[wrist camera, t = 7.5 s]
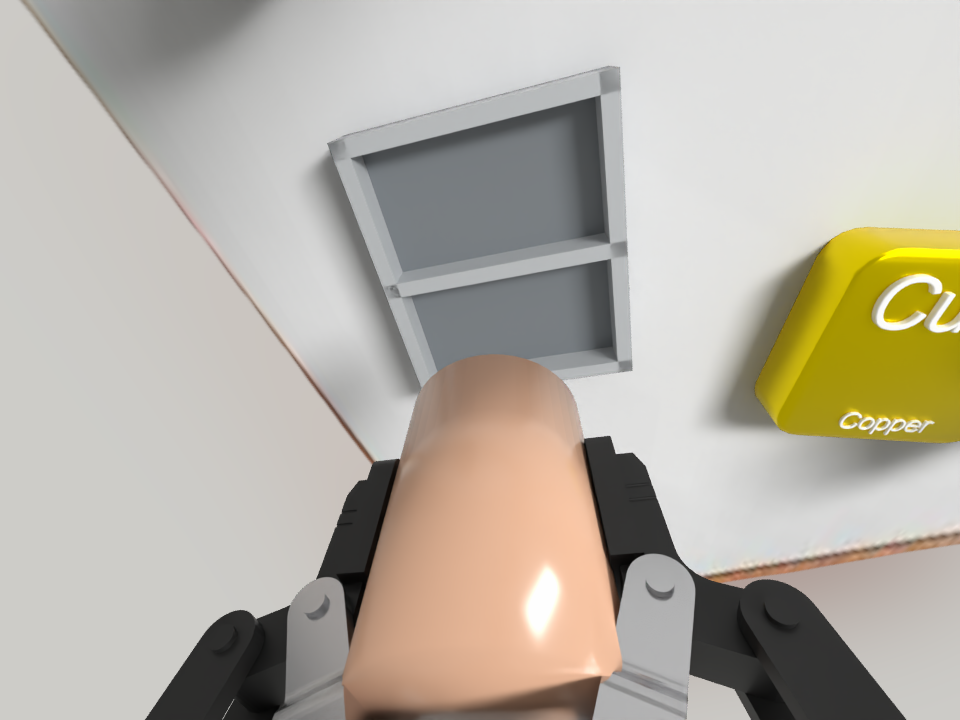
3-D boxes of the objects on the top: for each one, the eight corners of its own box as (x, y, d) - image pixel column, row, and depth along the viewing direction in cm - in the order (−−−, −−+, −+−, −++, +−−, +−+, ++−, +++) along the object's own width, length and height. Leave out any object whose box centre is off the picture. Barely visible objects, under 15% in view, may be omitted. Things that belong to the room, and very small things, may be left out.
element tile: (744, 399, 37) (771, 440, 33) (827, 223, 29) (877, 250, 25) (927, 409, 37) (976, 452, 33) (1069, 232, 28) (1160, 261, 24)
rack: (609, 66, 24) (619, 67, 22) (624, 348, 34) (632, 370, 32) (344, 135, 27) (327, 143, 25) (431, 376, 37) (425, 399, 35)
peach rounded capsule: (571, 341, 13) (645, 638, 6) (584, 471, 16) (643, 766, 9) (392, 368, 14) (283, 655, 7) (436, 486, 16) (391, 768, 10)
